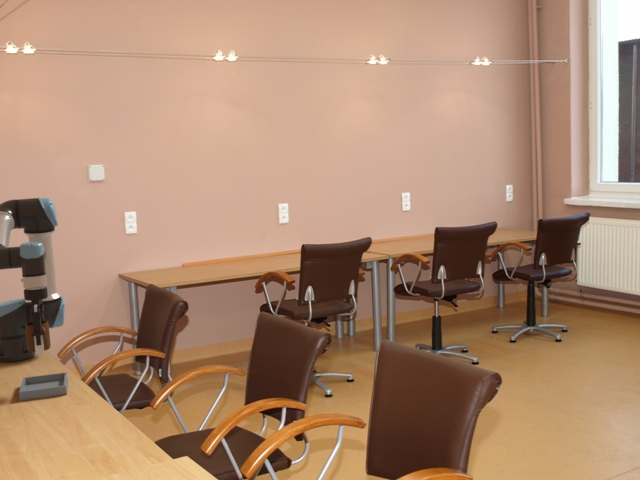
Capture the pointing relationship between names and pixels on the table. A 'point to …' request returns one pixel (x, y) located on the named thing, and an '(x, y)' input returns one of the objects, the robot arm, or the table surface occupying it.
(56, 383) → the tray
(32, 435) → the table surface
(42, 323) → the mug
